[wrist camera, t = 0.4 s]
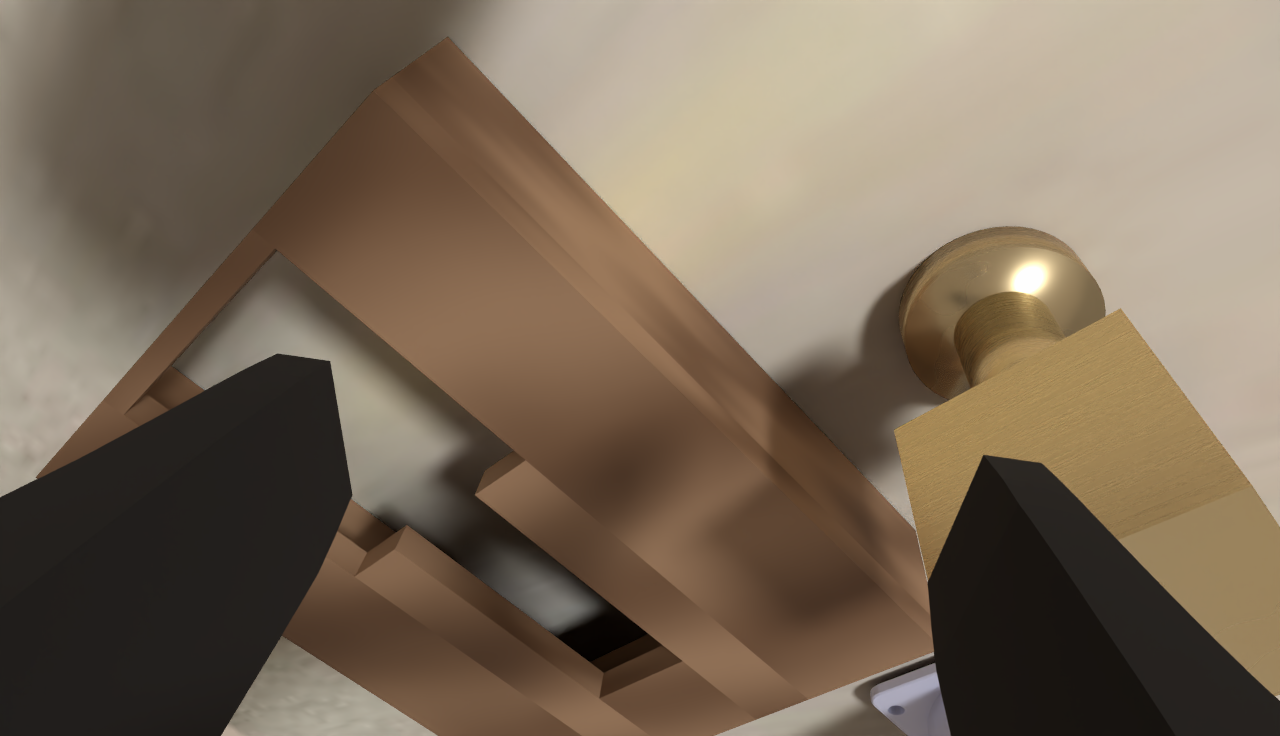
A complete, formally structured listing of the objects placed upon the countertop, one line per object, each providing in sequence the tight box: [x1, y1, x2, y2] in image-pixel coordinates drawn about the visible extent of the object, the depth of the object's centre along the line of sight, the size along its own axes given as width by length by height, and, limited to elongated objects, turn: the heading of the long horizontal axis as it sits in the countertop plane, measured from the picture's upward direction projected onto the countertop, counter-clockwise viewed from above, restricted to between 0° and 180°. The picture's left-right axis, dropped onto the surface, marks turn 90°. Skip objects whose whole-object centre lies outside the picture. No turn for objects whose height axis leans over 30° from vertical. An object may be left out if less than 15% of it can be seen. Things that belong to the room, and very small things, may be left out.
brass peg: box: [894, 226, 1280, 696], centre depth 14 cm, size 4×4×9 cm
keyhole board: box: [36, 37, 934, 736], centre depth 21 cm, size 17×14×4 cm
